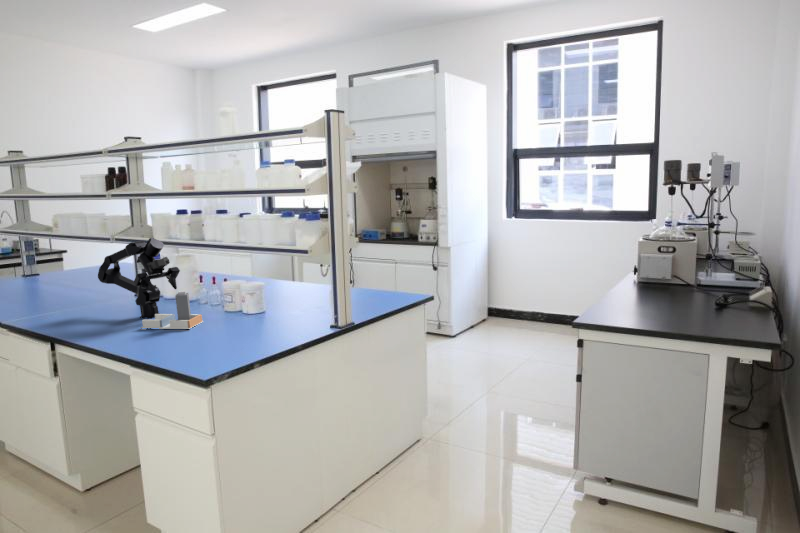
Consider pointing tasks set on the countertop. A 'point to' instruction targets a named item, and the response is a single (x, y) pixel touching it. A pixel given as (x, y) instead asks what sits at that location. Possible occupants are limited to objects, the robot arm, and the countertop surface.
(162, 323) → the white tray with rails
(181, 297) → the grey pedestal with block
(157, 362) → the countertop surface
